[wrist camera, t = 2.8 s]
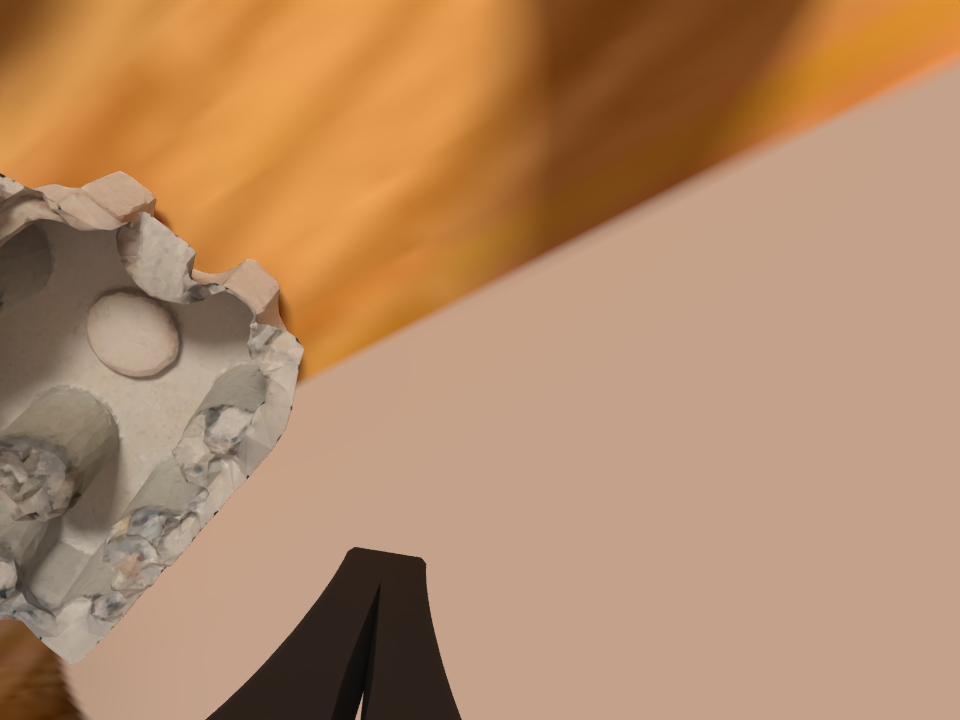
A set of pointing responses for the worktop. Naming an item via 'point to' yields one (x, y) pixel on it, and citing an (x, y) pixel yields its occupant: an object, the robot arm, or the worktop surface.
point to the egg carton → (120, 400)
